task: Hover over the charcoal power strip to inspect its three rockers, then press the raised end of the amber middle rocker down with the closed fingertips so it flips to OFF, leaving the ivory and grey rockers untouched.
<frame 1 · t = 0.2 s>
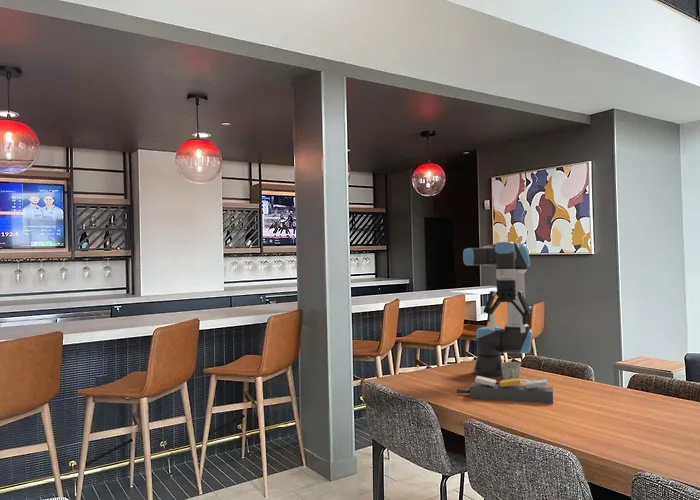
hand: (507, 331, 216), 27 cm above the table, fingers open, 13 cm apart
rocker a: (485, 381, 219), point 6 cm above the table, hinge at -11.0°
mug: (512, 387, 235), on the table
rocker b: (510, 382, 216), point 6 cm above the table, hinge at 11.0°
rocker c: (536, 383, 212), point 6 cm above the table, hinge at 11.0°
power strip: (511, 398, 216), on the table
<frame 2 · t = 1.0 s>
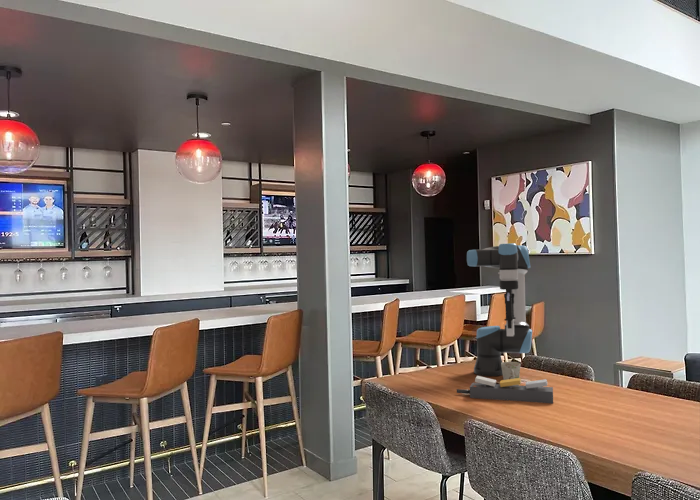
hand: (510, 335, 223), 25 cm above the table, fingers open, 4 cm apart
nothing on the table moved.
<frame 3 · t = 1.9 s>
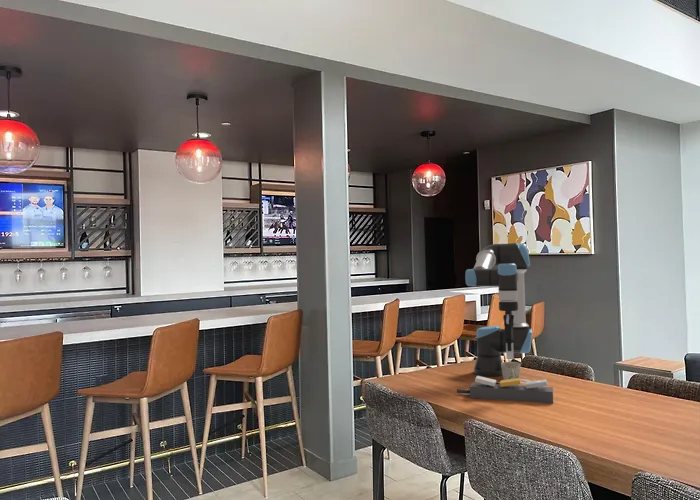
hand: (510, 358, 216), 16 cm above the table, fingers closed
nothing on the table moved.
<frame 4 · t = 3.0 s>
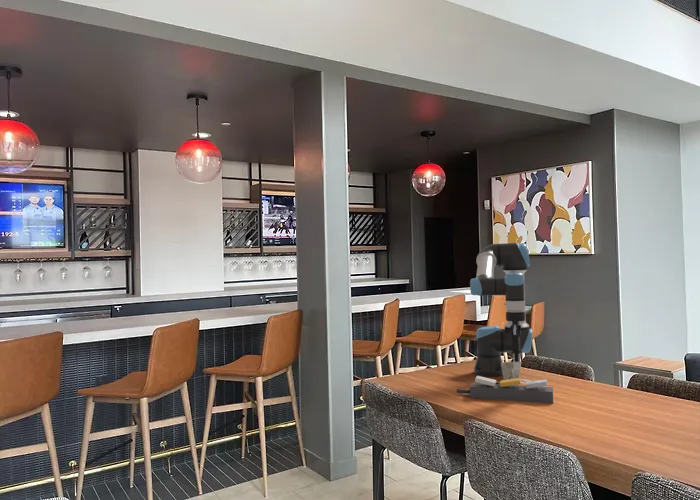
hand: (517, 369, 215), 12 cm above the table, fingers closed
nothing on the table moved.
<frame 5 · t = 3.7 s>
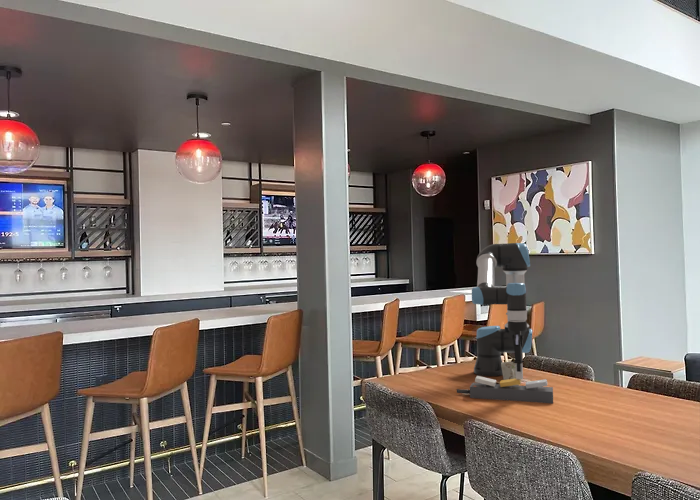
hand: (519, 379, 214), 8 cm above the table, fingers closed
rocker b: (510, 382, 216), point 6 cm above the table, hinge at 10.9°, touching gripper
everything else where it was.
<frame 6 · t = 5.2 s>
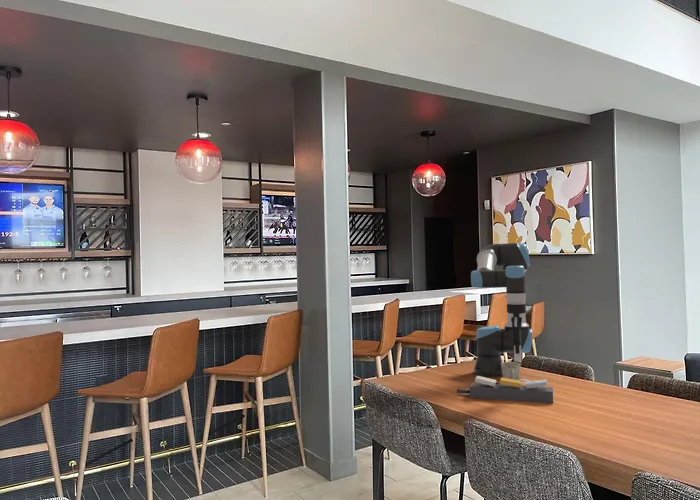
hand: (517, 361, 216), 15 cm above the table, fingers closed
rocker b: (510, 382, 216), point 6 cm above the table, hinge at -7.0°
everything else where it was.
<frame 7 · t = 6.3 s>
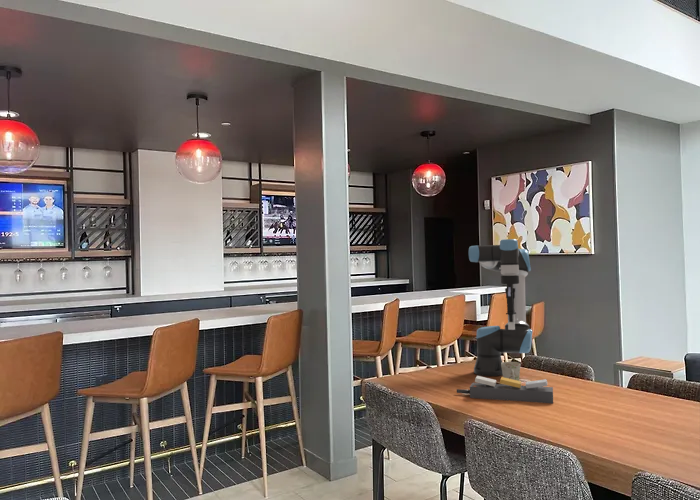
hand: (511, 329, 228), 26 cm above the table, fingers closed
rocker b: (510, 382, 216), point 6 cm above the table, hinge at -10.4°
everything else where it was.
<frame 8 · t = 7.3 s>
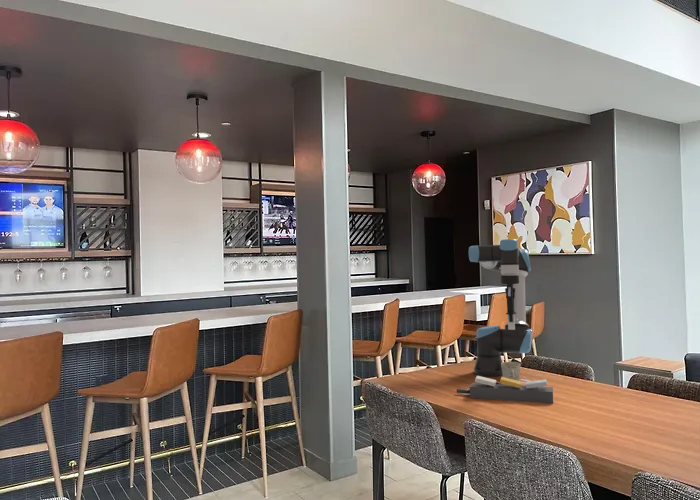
hand: (511, 329, 228), 26 cm above the table, fingers closed
rocker b: (510, 382, 216), point 6 cm above the table, hinge at -11.9°
everything else where it was.
at the end: rocker b at -12° (first picture: +11°); rocker a at -11° (first picture: -11°); rocker c at +11° (first picture: +11°) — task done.
